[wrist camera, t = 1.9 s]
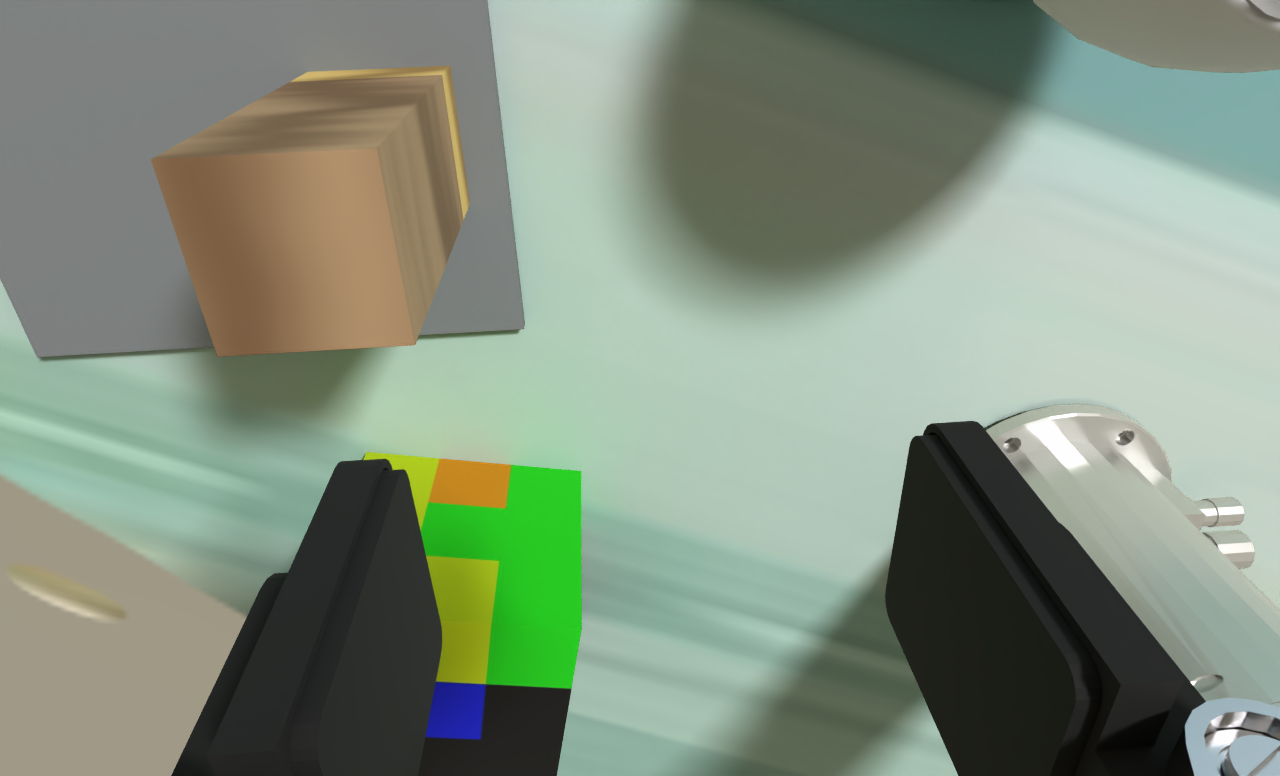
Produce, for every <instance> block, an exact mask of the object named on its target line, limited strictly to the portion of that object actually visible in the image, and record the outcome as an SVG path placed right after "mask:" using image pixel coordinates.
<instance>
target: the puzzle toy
mask: <svg viewBox="0 0 1280 776" xmlns="http://www.w3.org/2000/svg"><path fill="white" fill-rule="evenodd" d="M372 459H387V460H389V462H390V464H391V465H392V468H393V470H399V469H404V470H406V472H407V474H408V477H409V481H410V486H411V490H412V495H413V499H414V504H415V508H416V513H417V517H418V522H419V526H420V531H421V535H422V540H423V544H424V549H425V553H426V558H427V562H428V567H429V571H430V576H431V580H432V585H433V589H434V594H435V598H436V603H437V607H438V612H439V616H440V621H441V627H442V651H441V657H440V663H439V668H438V673H437V678H436V684H435V689H434V694H433V700H432V705H431V710H430V716H429V721H428V726H427V731H426V737H425V742H424V747H423V753H422V758H421V763H420V768H419V774H418V776H557V770H558V764H559V759H560V753H561V747H562V741H563V735H564V729H565V723H566V717H567V712H568V706H569V700H570V694H571V688H572V682H573V676H574V670H575V665H576V659H577V653H578V647H579V641H580V635H581V629H582V598H581V471H572V470H561V469H550V468H539V467H528V466H516V465H505V464H494V463H483V462H472V461H461V460H450V459H438V458H427V457H416V456H405V455H394V454H383V453H372V452H366V454H365V457H364V459H363V460H372Z"/></svg>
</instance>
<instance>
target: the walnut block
mask: <svg viewBox="0 0 1280 776" xmlns="http://www.w3.org/2000/svg"><path fill="white" fill-rule="evenodd" d="M151 162H152V165H153V168H154V171H155V174H156V177H157V180H158V182H159V185H160V188H161V191H162V194H163V197H164V200H165V203H166V206H167V209H168V212H169V215H170V218H171V221H172V224H173V227H174V230H175V233H176V236H177V239H178V242H179V245H180V247H181V250H182V253H183V256H184V259H185V262H186V265H187V268H188V271H189V274H190V277H191V280H192V283H193V286H194V289H195V292H196V295H197V298H198V301H199V304H200V307H201V309H202V312H203V315H204V318H205V321H206V324H207V327H208V330H209V333H210V336H211V339H212V342H213V345H214V348H215V351H216V354H217V357H219V356H236V355H253V354H270V353H288V352H305V351H322V350H339V349H357V348H374V347H391V346H408V345H415V344H416V341H417V339H418V336H419V334H420V331H421V329H422V326H423V323H424V321H425V318H426V316H427V313H428V311H429V308H430V305H431V303H432V300H433V298H434V295H435V292H436V290H437V287H438V285H439V282H440V280H441V277H442V274H443V272H444V269H445V267H446V264H447V261H448V259H449V256H450V254H451V251H452V249H453V246H454V243H455V241H456V238H457V236H458V233H459V230H460V228H461V225H462V223H463V220H464V218H465V215H466V212H467V210H468V207H469V205H470V200H469V193H468V186H467V179H466V172H465V165H464V158H463V151H462V144H461V137H460V130H459V123H458V116H457V109H456V102H455V95H454V88H453V81H452V74H451V67H450V66H430V67H407V68H385V69H362V70H339V71H317V72H307V73H305V74H303V75H301V76H299V77H298V78H296V79H294V80H292V81H290V82H289V83H287V84H285V85H283V86H281V87H280V88H278V89H276V90H274V91H272V92H271V93H269V94H267V95H265V96H263V97H262V98H260V99H258V100H256V101H254V102H253V103H251V104H249V105H247V106H245V107H244V108H242V109H240V110H238V111H237V112H235V113H233V114H231V115H229V116H228V117H226V118H224V119H222V120H220V121H219V122H217V123H215V124H213V125H211V126H210V127H208V128H206V129H204V130H202V131H201V132H199V133H197V134H195V135H193V136H192V137H190V138H188V139H186V140H184V141H183V142H181V143H179V144H177V145H175V146H174V147H172V148H170V149H168V150H166V151H165V152H163V153H161V154H159V155H158V156H156V157H154V158H152V159H151Z"/></svg>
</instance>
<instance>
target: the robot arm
mask: <svg viewBox="0 0 1280 776" xmlns="http://www.w3.org/2000/svg"><path fill="white" fill-rule="evenodd" d="M1243 519H1244V510H1243V506H1242V505H1241V503H1240V502H1239V501H1238V500H1237V499H1235V498H1233V497H1226V498H1212V499H1203V500H1202V501H1192V500H1191V499H1190V498H1189V497H1186V496H1185V495H1184V494H1183V493H1182V492H1181V491H1180V490H1179V489H1178V488H1177V487H1176V486H1175V485H1174V484H1173V483H1172V476H1171V467H1170V464H1169V461H1168V458H1167V455H1166V452H1165V451H1164V450H1163V448H1162V447H1161V445H1160V444H1159V443H1158V441H1157V440H1156V438H1155V437H1154V436H1152V435H1151V434H1150V433H1149V432H1148V431H1147V430H1146V429H1145V428H1144V427H1142V426H1141V425H1140V424H1139V423H1138V422H1136V421H1135V420H1133V419H1131V418H1130V417H1128V416H1126V415H1125V414H1123V413H1121V412H1118V411H1115V410H1111V409H1108V408H1105V407H1102V406H1094V405H1085V404H1068V405H1053V406H1049V407H1044V408H1040V409H1035V410H1031V411H1027V412H1025V413H1022V414H1019V415H1017V416H1014V417H1011V418H1009V419H1006V420H1004V421H1002V422H1000V423H998V424H996V425H994V426H993V427H991V428H989V429H987V430H985V429H984V428H983V427H982V426H981V425H980V424H979V423H978V422H975V421H965V422H950V423H934V424H930V425H928V426H927V427H926V429H925V431H924V434H923V436H915V437H913V439H912V441H911V443H910V447H909V453H908V459H907V465H906V471H905V477H904V483H903V489H902V495H901V501H900V507H899V513H898V519H897V525H896V531H895V537H894V544H893V550H892V556H891V562H890V568H889V574H888V580H887V586H886V594H885V598H886V608H887V613H888V617H889V619H890V622H891V624H892V627H893V629H894V631H895V633H896V636H897V638H898V640H899V642H900V645H901V647H902V649H903V651H904V654H905V656H906V658H907V660H908V663H909V665H910V667H911V670H912V672H913V674H914V676H915V679H916V681H917V683H918V685H919V688H920V690H921V692H922V694H923V697H924V699H925V701H926V703H927V706H928V708H929V710H930V712H931V715H932V717H933V719H934V721H935V724H936V726H937V728H938V730H939V733H940V735H941V737H942V740H943V742H944V744H945V746H946V749H947V751H948V753H949V755H950V758H951V760H952V762H953V764H954V767H955V769H956V771H957V773H958V776H1280V609H1279V608H1278V607H1277V606H1276V605H1275V604H1274V603H1273V602H1272V601H1271V600H1270V599H1269V598H1268V597H1267V596H1266V595H1265V594H1264V593H1263V592H1262V591H1261V590H1259V589H1258V588H1257V587H1256V586H1255V585H1254V584H1253V583H1252V582H1251V581H1250V580H1249V579H1248V578H1247V577H1246V576H1245V575H1244V574H1243V573H1242V572H1241V571H1240V570H1239V569H1245V568H1248V567H1250V566H1251V564H1252V563H1253V561H1254V548H1253V545H1252V542H1251V541H1250V539H1249V538H1248V537H1247V535H1246V534H1244V533H1243V532H1241V531H1239V530H1230V531H1216V532H1201V531H1200V530H1201V527H1202V526H1208V527H1219V526H1233V525H1240V523H1241V522H1242V521H1243ZM441 651H442V627H441V621H440V616H439V612H438V607H437V603H436V598H435V594H434V589H433V585H432V580H431V576H430V571H429V567H428V562H427V558H426V553H425V549H424V544H423V540H422V535H421V531H420V526H419V522H418V517H417V513H416V508H415V504H414V499H413V495H412V490H411V486H410V481H409V477H408V474H407V472H406V470H404V469H399V470H393V468H392V465H391V464H390V462H389V460H387V459H372V460H356V461H342V462H339V463H338V464H337V466H336V467H335V469H334V471H333V474H332V476H331V478H330V480H329V483H328V485H327V487H326V489H325V492H324V494H323V496H322V498H321V501H320V503H319V505H318V507H317V510H316V512H315V514H314V516H313V518H312V521H311V523H310V525H309V527H308V530H307V532H306V534H305V536H304V539H303V541H302V543H301V545H300V548H299V550H298V552H297V554H296V557H295V559H294V561H293V563H292V565H291V568H290V570H289V572H288V573H276V574H273V575H272V576H270V577H269V578H267V580H266V581H265V583H264V584H263V586H262V587H261V589H260V591H259V593H258V595H257V597H256V599H255V602H254V604H253V606H252V608H251V610H250V612H249V614H248V616H247V618H246V620H245V622H244V625H243V627H242V629H241V631H240V633H239V635H238V637H237V639H236V641H235V644H234V645H233V648H232V650H231V652H230V654H229V656H228V658H227V660H226V662H225V665H224V667H223V669H222V671H221V673H220V675H219V677H218V679H217V681H216V683H215V686H214V687H213V689H212V692H211V694H210V696H209V698H208V700H207V702H206V704H205V706H204V708H203V710H202V712H201V715H200V717H199V719H198V721H197V723H196V725H195V727H194V729H193V731H192V733H191V735H190V738H189V740H188V742H187V744H186V746H185V748H184V750H183V752H182V754H181V756H180V759H179V761H178V763H177V765H176V767H175V769H174V771H173V773H172V775H171V776H418V774H419V768H420V763H421V758H422V753H423V747H424V742H425V737H426V731H427V726H428V721H429V716H430V710H431V705H432V700H433V694H434V689H435V684H436V678H437V673H438V668H439V663H440V657H441Z"/></svg>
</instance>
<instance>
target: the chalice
mask: <svg viewBox="0 0 1280 776" xmlns="http://www.w3.org/2000/svg"><path fill="white" fill-rule="evenodd" d="M1033 1H1034V3H1035V4H1036V5H1037V6H1038V7H1039V8H1041V9H1042V10H1043V11H1044V12H1046V13H1047V14H1048V15H1049V16H1051V17H1052V18H1053V19H1054V20H1056V21H1057V22H1058V23H1059V24H1061V25H1062V26H1063V27H1064V28H1065V29H1067V30H1068V31H1069V32H1070V33H1072V34H1073V35H1074V36H1075V37H1077V38H1078V39H1080V40H1082V41H1085V42H1087V43H1090V44H1092V45H1095V46H1097V47H1100V48H1102V49H1105V50H1107V51H1110V52H1112V53H1115V54H1117V55H1120V56H1122V57H1125V58H1127V59H1130V60H1133V61H1136V62H1139V63H1142V64H1145V65H1148V66H1151V67H1157V68H1169V69H1180V70H1192V71H1203V72H1223V73H1247V72H1258V71H1269V70H1278V69H1280V0H1033Z"/></svg>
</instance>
